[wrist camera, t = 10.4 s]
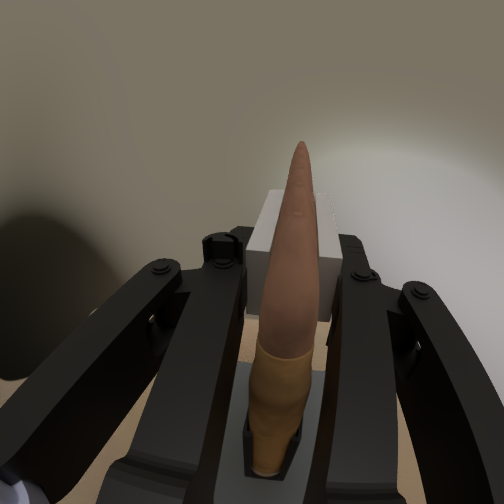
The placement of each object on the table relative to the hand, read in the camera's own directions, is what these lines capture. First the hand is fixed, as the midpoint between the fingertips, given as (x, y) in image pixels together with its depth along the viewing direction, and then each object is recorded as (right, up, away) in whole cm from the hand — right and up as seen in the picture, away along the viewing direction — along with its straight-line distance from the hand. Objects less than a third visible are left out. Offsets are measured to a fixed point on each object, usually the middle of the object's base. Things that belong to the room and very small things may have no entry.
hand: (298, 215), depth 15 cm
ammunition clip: (-1, -10, -1) cm, 10 cm away
